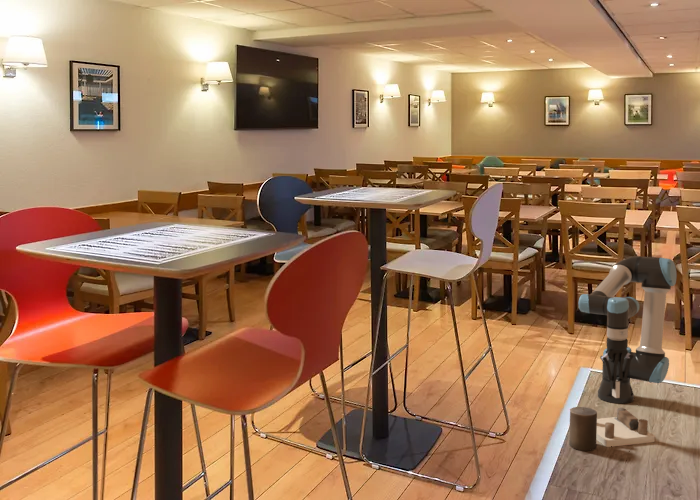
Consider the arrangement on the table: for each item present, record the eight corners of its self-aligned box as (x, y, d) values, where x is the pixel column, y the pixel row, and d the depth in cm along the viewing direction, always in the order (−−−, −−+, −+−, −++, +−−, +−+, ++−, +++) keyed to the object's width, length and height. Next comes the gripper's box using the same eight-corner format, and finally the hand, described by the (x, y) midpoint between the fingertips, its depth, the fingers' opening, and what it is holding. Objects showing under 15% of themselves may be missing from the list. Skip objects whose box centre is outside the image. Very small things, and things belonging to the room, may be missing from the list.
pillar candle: (596, 452, 241) (597, 413, 239) (568, 449, 245) (569, 410, 243) (596, 442, 250) (597, 404, 248) (569, 439, 254) (570, 401, 252)
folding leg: (615, 417, 266) (615, 407, 266) (623, 417, 267) (624, 407, 266) (630, 430, 254) (630, 419, 253) (639, 429, 254) (639, 419, 254)
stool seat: (623, 422, 269) (623, 404, 268) (654, 441, 249) (655, 423, 248) (578, 426, 265) (578, 408, 264) (606, 447, 246) (607, 427, 245)
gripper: (607, 342, 247) (605, 401, 251) (638, 339, 250) (636, 398, 253) (596, 336, 255) (595, 394, 258) (626, 334, 257) (625, 391, 260)
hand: (615, 396), depth 256 cm, fingers closed
